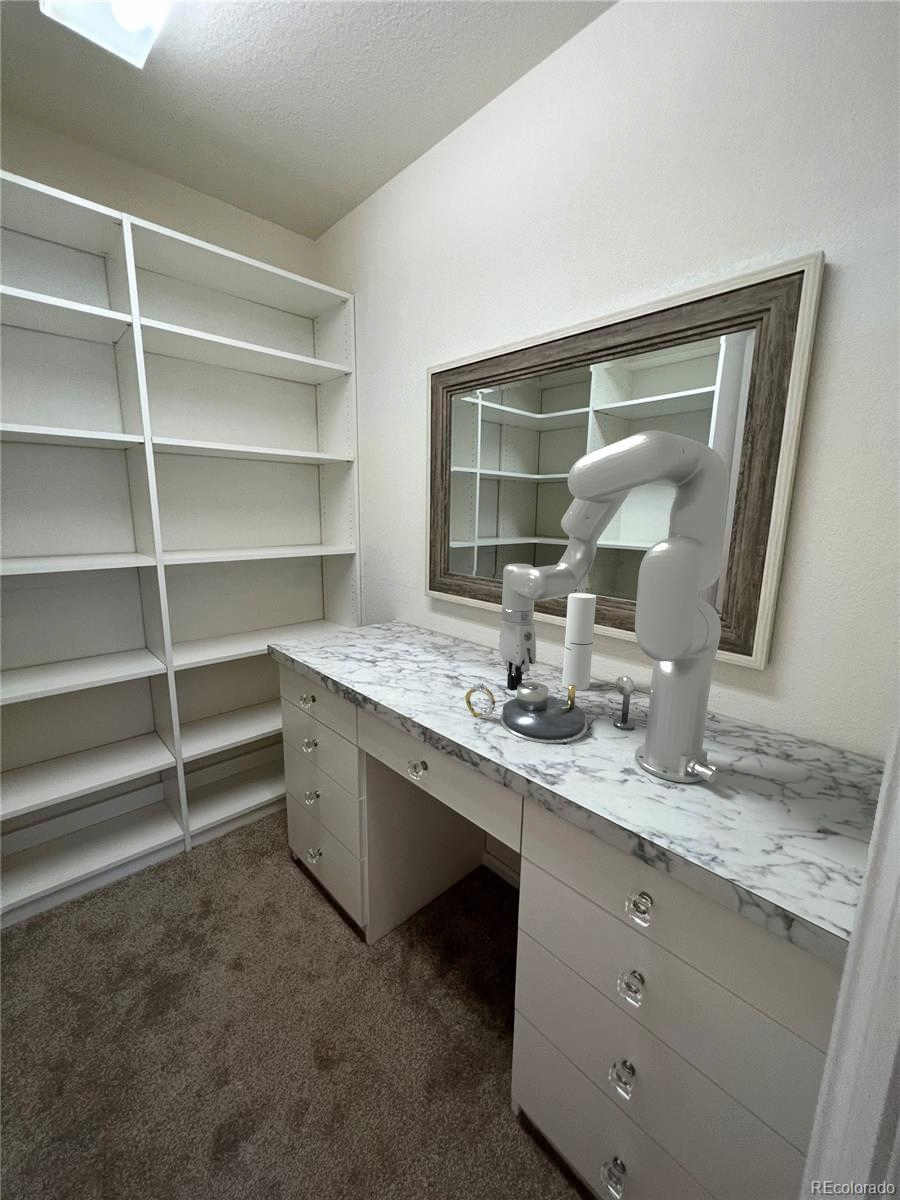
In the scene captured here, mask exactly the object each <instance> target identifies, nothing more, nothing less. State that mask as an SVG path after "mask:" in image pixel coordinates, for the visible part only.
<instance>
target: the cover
mask: <svg viewBox="0 0 900 1200" xmlns="http://www.w3.org/2000/svg"><path fill="white" fill-rule="evenodd" d="M516 691H517V692H516V698H517V705H518V706H519V707H521V708H524V709H527V710H543V709H545V708H547V705H548V697H549V687H548V686H547V685H545V684H544V683H543V684H542V683H539V682H533V681H529V682H527V681H526V682H522V683H521V684H519V685H518V687H517V690H516Z"/></svg>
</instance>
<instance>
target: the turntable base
mask: <svg viewBox="0 0 900 1200" xmlns="http://www.w3.org/2000/svg"><path fill="white" fill-rule="evenodd" d="M502 715H503V712H502V713H501V715H500V716H499V717H500V718H499V723H500V725H501V727H502V728H503V730H505V731H506V732H508V733H509V734H511V735H513V736H514V737H517V738H519V739H522V740H525V741H529V742H533V743H540V744H548V745H549V744H567V743H571V742H575V741H577V740H579V739H581V738H583V737H585V735H586V733H587V732H588V731H587V730H588V725H587V723H586V721H585V728H584V730H583V731H582V732H581V733H580V734H578V735H576V736H573V737H569V738H564V739H541V738H535V737H530V736H526V735H523V734H520V733H518V732H516V731H514V730H512V729H510V728H509V727H508V726H507V725H506V724H505V723H504V721H503V718H502Z"/></svg>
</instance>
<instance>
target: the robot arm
mask: <svg viewBox="0 0 900 1200" xmlns="http://www.w3.org/2000/svg"><path fill="white" fill-rule="evenodd" d="M645 485H651V486H652V485H655V486H663V487H671V488H673V489H674V490H675V496H674V499H673V501H672V504H671V508H670V512H669V526H668V534H667V538H664V539H662V540H660V541H657V542H656V543H654V544H653V545H652V546H650V548H649V549H648V550H647V551H646V552H645V554H644V556H643V558H642V560H641V563H640V566H639V569H638V579H637V592H636V606H635V615H634V616H635V617H634V632H635V639H636V643H637V644H638V646H639V648H640V649H641V651H642V652H643V654H644V655H646V656H648V657H649V658H650V659H652V660H654V661H653V668H652V675H651V681H650V691H649V693H650V694H649V702H648V710H647V713H648V714H647V721H646V722H647V723H646V731H645V732H646V733H645V740H644V741H645V742H644V744H641V745H640V746H638V747H637V748H636V750H635V752H634V753H635V754H634V758H635V761H636V763H637V765H639V766H640V767H641V768H642V769H643V770H644V771H646V772H648V773H649V774H651V775H653V776H656V777H658V778H660V779H661V778H662V779H664V780H668V781H672V782H676V783H689V784H690V783H699V782H702V781H704V780H705V781H707V782H708V783H710V784H711V783H714V782H715V781H716V779H717V776H718V775H717V774H718V773H719V772H720V768H719V766H716V764H713V763H710V762H708V761H709V760H708V751H707V750H705V749H703V745H704V744H703V743H704V736H705V729H706V722H707V721H706V719H707V714H708V704H709V698H710V697H709V696H710V692H711V684H712V676H713V671H714V670H713V669H714V666H715V665H714V664H715V660H716V656H717V652H718V649H719V644H720V640H721V635H722V623H721V619H720V616H719V614H718V612H717V610H715V608H714V607H713V606H712V605H711V604H710V603H708V602H706V601H704V600H702V599H700V598H699V593H700V591H703V590H705V589H707V588H709V587H711V586H712V585H714V584H715V583H716V581H717V580H718V579H719V577H720V575H721V573H722V567H723V565H722V564H723V552H724V544H725V534H726V533H725V532H726V520H727V519H726V518H727V509H728V507H727V506H728V499H729V490H730V489H729V488H730V477H729V471H728V467H727V464H726V463H725V461H724V459H723V458H722V456H721V455H720V454H719V453H718V452H717V451H716V450H714V449H713V448H712V447H710V446H708V445H706V444H704V443H703V442H700V441H697V440H695V439H692V438H689V437H685V436H682V435H680V434H674V433H670V432H667V431H665V430H658V429H657V430H655V429H653V430H646V431H641V432H637V433H635V434H632V435H630V436H628V437H625V438H623V439H620V440H618V441H616V442H613V443H610V444H608V445H606V446H603V447H601V448H599V449H595V450H593V451H591V452H589V453H586V454H584V455H583V456H582V457H580V458H579V459H578V460H576V462H575V463H574V464H573V465H572V466H571V468H570V470H569V473H568V476H567V486H568V490H569V492H570V494H571V495H572V496H573V497H574V499H573V500H572V502H571V504H570V505H569V507H568V509H567V510H566V512H565V513H564V515H563V516H562V519H561V520H560V526H561V528H562V530H563V531H564V533H565V534H566V535H567V536H568V537H569V539H568V540H569V541H568V545H567V547H566V549H565V551H564V553H563V555H562V557H561V558H560V559H559V561H558V563H556V564H553V565H544V566H536V567H534V565H532V564H527V563H509V564H506V565H505V566H504V568H503V572H502V595H501V596H502V597H501V598H502V599H501V625H500V632H499V643H498V652H499V655H500V656H501V658H502V660H503V661H504V663H505V667H506V673H507V679H506V680H507V683H506V688H507V689H508V690H509V691H517V687H518V685H519V684H521V683H523V675H524V674H525V673H527V672H530V670H531V667H530V665H535V663H536V660H537V638H536V637H537V636H536V635H537V634H536V627H535V624H534V614H535V612H534V611H535V610H534V608H535V602H543V601H549V600H552V599H559V598H563V597H568V595H569V594H571V593H574V592H575V591H576V590H577V589H578V587H579V586H580V584H581V583H582V582H583V581H584V579H585V577H586V576H587V575H588V574H589V572H590V570H591V569H592V567H593V564H594V561H595V558H596V553H597V547H598V545H597V543H598V541H599V539H600V537H601V536H602V534H603V533H604V532H605V530H606V529H607V527H608V526H609V525H610V523H611V521H612V520H613V518H614V516H615V515H616V514H617V512H618V511H619V510H620V508H621V507H622V506H623V503H624V502H625V500H626V499H627V497H628V496H629V494H630V493H631V492H632V490H633V489H634V488H637V487H640V486H641V487H642V486H645Z"/></svg>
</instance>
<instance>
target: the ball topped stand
mask: <svg viewBox="0 0 900 1200" xmlns="http://www.w3.org/2000/svg"><path fill="white" fill-rule="evenodd" d="M615 687H616V690H617V692H618V694H620V695H621V696H622V707H621V717H620V718H619V717H617V718H614V719H613V727H615V728H617V729H619V730H621V731H633V730H635V728H636V724H635V722H634V721H633V720H630V719H629V713H630V701H631V695H632V694H633V693H634V691H635V683H634V681H633V679H632V678H631V677H630V676H628V675H623V676H618V677H617V679H616V681H615Z"/></svg>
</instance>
